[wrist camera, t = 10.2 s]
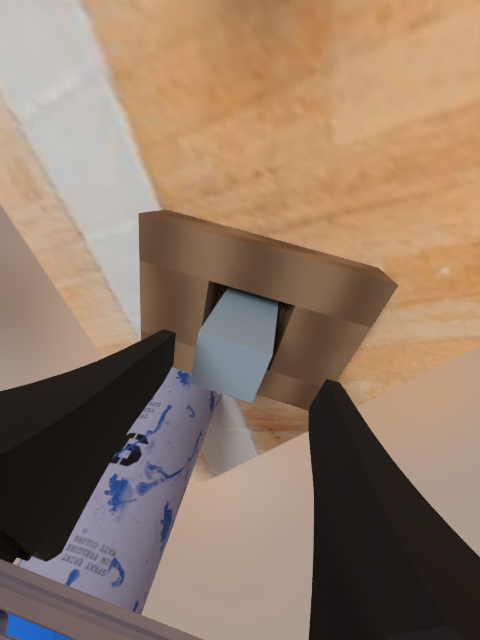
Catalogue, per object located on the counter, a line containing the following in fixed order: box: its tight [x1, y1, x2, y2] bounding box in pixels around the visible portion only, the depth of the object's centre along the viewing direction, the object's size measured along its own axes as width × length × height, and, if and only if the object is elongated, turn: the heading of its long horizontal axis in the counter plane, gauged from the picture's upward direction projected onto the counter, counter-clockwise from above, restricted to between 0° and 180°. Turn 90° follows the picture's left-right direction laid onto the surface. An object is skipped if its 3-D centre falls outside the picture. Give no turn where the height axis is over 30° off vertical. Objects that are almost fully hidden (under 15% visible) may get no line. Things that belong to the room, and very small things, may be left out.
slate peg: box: [190, 287, 279, 404], centre depth 16 cm, size 4×4×8 cm
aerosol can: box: [6, 367, 220, 640], centre depth 18 cm, size 8×8×20 cm
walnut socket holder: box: [139, 210, 398, 411], centre depth 18 cm, size 16×12×4 cm
